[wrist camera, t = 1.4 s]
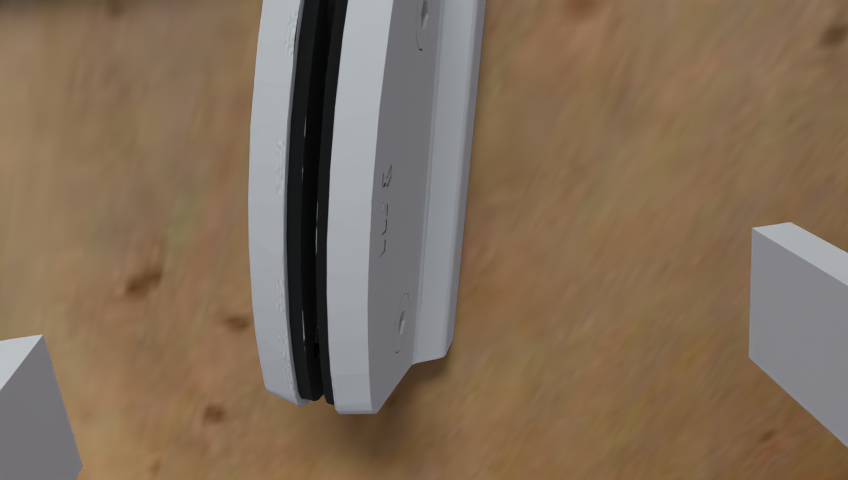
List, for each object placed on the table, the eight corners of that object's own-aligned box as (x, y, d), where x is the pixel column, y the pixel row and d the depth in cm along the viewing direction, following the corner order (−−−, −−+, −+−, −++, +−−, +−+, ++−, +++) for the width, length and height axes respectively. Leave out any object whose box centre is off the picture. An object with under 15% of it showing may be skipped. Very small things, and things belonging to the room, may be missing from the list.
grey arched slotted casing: (452, 348, 34) (388, 487, 24) (344, 329, 34) (243, 457, 25) (493, -81, 28) (432, -112, 19) (365, -89, 29) (245, -123, 20)
